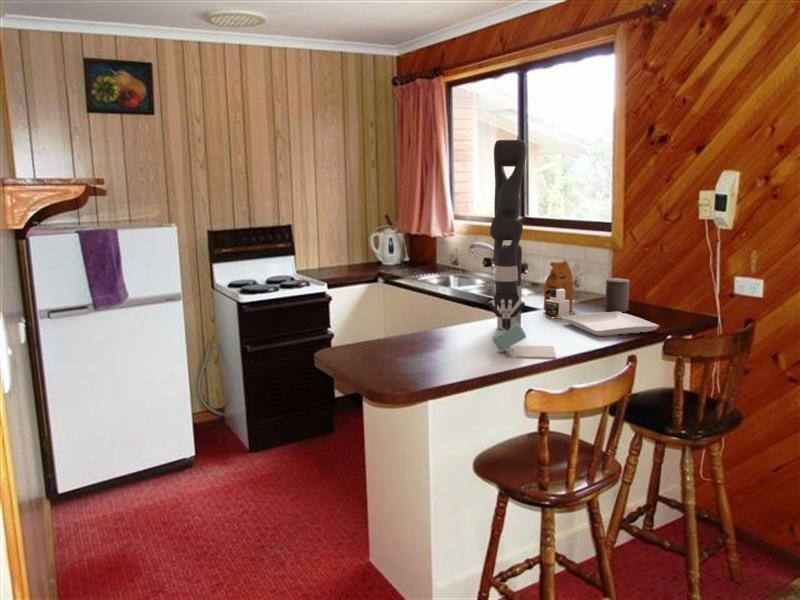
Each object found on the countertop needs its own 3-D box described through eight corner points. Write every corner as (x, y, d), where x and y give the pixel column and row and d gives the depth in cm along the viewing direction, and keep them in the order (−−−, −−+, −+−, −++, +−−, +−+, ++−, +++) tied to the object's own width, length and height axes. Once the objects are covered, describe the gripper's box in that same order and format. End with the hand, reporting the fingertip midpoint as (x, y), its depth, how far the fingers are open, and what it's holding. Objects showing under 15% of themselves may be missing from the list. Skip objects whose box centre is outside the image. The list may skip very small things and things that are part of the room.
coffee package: (539, 311, 294) (540, 261, 290) (557, 307, 302) (558, 258, 298) (558, 314, 286) (559, 263, 282) (575, 310, 294) (577, 260, 290)
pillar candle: (605, 312, 287) (607, 278, 285) (604, 308, 297) (605, 274, 294) (629, 313, 285) (631, 279, 282) (627, 309, 294) (629, 275, 292)
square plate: (596, 340, 244) (596, 330, 243) (559, 324, 270) (559, 315, 269) (660, 333, 251) (661, 323, 250) (618, 319, 277) (618, 309, 276)
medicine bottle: (545, 316, 283) (545, 288, 281) (556, 314, 288) (556, 286, 285) (558, 319, 278) (558, 290, 275) (569, 316, 282) (570, 288, 280)
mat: (512, 347, 236) (512, 345, 236) (553, 347, 234) (553, 346, 234) (512, 357, 223) (512, 356, 223) (556, 358, 220) (556, 356, 220)
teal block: (492, 336, 232) (518, 321, 230) (500, 348, 232) (525, 334, 230) (492, 339, 227) (518, 325, 225) (500, 352, 228) (525, 337, 225)
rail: (507, 346, 237) (507, 341, 236) (509, 346, 236) (509, 341, 236) (506, 357, 223) (506, 351, 223) (509, 357, 223) (509, 351, 223)
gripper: (526, 277, 228) (525, 326, 231) (486, 277, 230) (487, 326, 233) (526, 280, 220) (526, 331, 224) (486, 280, 223) (486, 331, 226)
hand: (506, 328), depth 228 cm, fingers closed
